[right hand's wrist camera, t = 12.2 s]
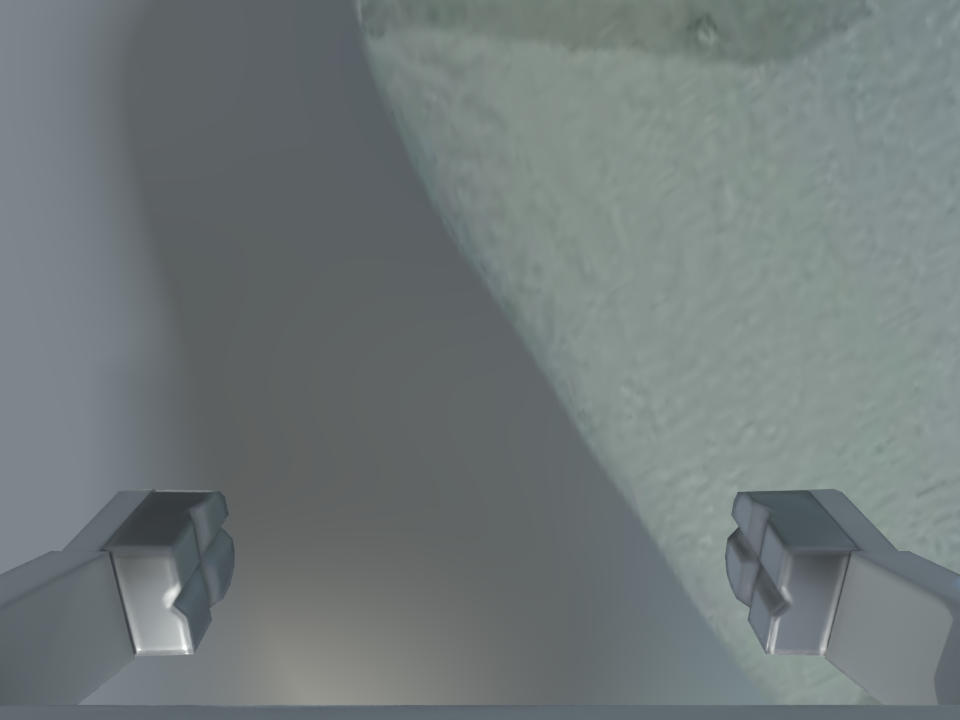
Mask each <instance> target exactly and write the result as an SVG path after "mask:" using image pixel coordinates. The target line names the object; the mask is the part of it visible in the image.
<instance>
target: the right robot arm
mask: <svg viewBox="0 0 960 720" xmlns="http://www.w3.org/2000/svg"><path fill="white" fill-rule="evenodd" d="M731 515H732V516H733V518H734V520H735V521H736V523H737V525H738V526H739V527H738V528H737V529H736V530H735V531H734V532H733V533H732V534H731V535H730V536H729V537H728V538H727V546H726V554H725V560H726V571H727V576H728V580H729V583H730V586H731V589H732V591H733V593H734V595H735V597H736V599H738V600H739V601H741V602H742V603H744V604H745V605H747V606H748V607H750V611H749V617H748V621H749V623H750V625H751V627H752V629H753V631H754V633H755V634H756V636H757V638H758V640H759V642H760V644H761V646H762V647H763V649H764V651H765V653H766V654H777V655H814V656H825V659H826V660H827V661H829V662H830V663H831V664H832V665H834V666H835V667H836V668H837V669H839V670H840V671H841V672H842V673H844V674H845V675H846V676H847V677H849V678H850V679H851V680H852V681H854V682H855V683H856V684H857V685H859V686H860V687H861V688H862V689H864V690H865V691H866V692H867V693H869V694H870V695H871V696H872V697H873V698H875V699H876V700H877V701H878V702H880V703H881V704H882V705H78V704H79V703H80V702H82V701H83V700H84V699H85V698H87V697H88V696H89V695H90V694H92V693H93V692H94V691H95V690H97V689H98V688H99V687H100V686H102V685H103V684H104V683H105V682H107V681H108V680H109V679H110V678H112V677H113V676H114V675H115V674H117V673H118V672H119V671H120V670H122V669H123V668H124V667H125V666H127V665H128V664H129V663H130V662H132V661H133V660H134V659H135V656H146V655H181V654H194V653H195V651H196V649H197V647H198V646H199V644H200V642H201V640H202V638H203V636H204V634H205V633H206V631H207V629H208V627H209V625H210V623H211V621H212V617H211V612H210V607H212V606H213V605H215V604H216V603H218V602H219V601H221V600H222V599H224V596H225V594H226V592H227V590H228V588H229V586H230V584H231V579H232V575H233V570H234V546H233V539H232V537H231V536H230V535H229V534H228V533H227V532H226V531H225V530H224V529H223V528H222V527H221V526H222V525H223V523H224V521H225V520H226V518H227V516H228V509H227V504H226V500H225V496H224V495H223V494H222V493H221V492H220V491H202V490H154V489H136V490H124V491H119V492H118V493H117V494H116V495H115V496H114V497H113V498H112V499H111V500H110V501H109V502H108V503H107V504H106V505H105V506H104V507H103V508H102V510H101V511H100V512H99V513H98V514H97V515H96V516H95V517H94V518H93V519H92V520H91V521H90V522H89V523H88V524H87V525H86V526H85V527H84V528H83V529H82V530H81V531H80V532H79V533H78V534H77V535H76V537H75V538H74V539H73V540H72V541H71V542H70V543H69V544H68V545H67V546H66V547H65V548H64V549H63V550H62V551H50V552H48V553H46V554H44V555H42V556H39V557H37V558H35V559H33V560H31V561H29V562H27V563H24V564H22V565H20V566H18V567H16V568H14V569H11V570H9V571H7V572H5V573H3V574H1V575H0V720H960V575H959V574H957V573H955V572H953V571H951V570H949V569H946V568H944V567H942V566H940V565H938V564H936V563H933V562H931V561H929V560H927V559H925V558H923V557H920V556H918V555H916V554H914V553H912V552H910V551H898V550H897V549H896V548H895V547H894V546H893V545H892V544H891V543H890V542H889V541H888V540H887V539H886V538H885V536H884V535H883V534H882V533H881V532H880V531H879V530H878V529H877V528H876V527H875V526H874V525H873V524H872V523H871V522H870V521H869V520H868V519H867V518H866V517H865V516H864V515H863V514H862V512H861V511H860V510H859V509H858V508H857V507H856V506H855V505H854V504H853V503H852V502H851V501H850V500H849V499H848V498H847V497H846V496H845V495H844V494H843V493H842V492H840V491H838V490H835V489H819V490H796V491H757V492H738V493H737V495H736V497H735V500H734V503H733V509H732V514H731Z"/></svg>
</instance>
